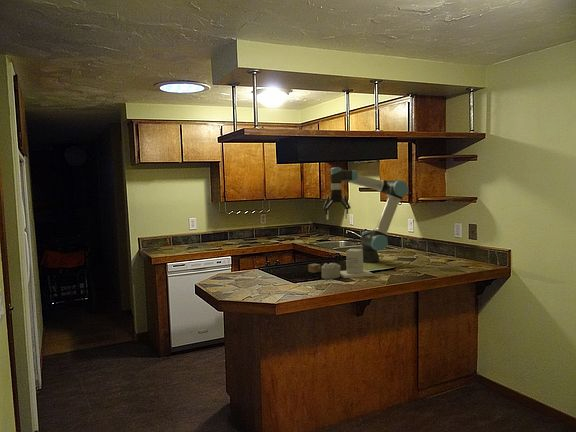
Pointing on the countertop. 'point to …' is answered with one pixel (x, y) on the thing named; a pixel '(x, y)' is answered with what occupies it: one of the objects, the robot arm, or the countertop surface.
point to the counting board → (362, 274)
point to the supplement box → (354, 261)
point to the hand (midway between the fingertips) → (336, 219)
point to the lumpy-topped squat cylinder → (331, 271)
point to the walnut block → (314, 268)
